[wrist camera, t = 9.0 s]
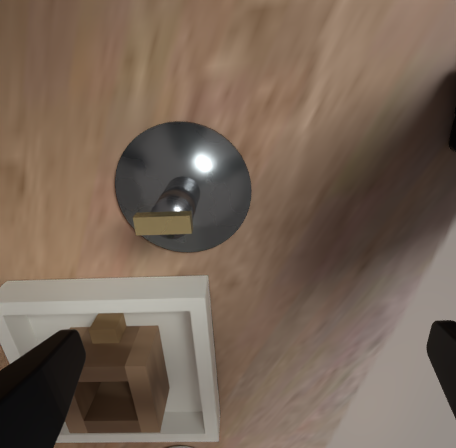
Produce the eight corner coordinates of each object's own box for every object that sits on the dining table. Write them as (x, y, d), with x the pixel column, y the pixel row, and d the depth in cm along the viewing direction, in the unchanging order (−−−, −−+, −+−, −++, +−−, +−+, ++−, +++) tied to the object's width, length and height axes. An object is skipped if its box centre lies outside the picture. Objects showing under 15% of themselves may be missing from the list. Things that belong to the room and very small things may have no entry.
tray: (208, 275, 21) (205, 297, 19) (220, 412, 27) (218, 441, 25) (7, 280, 22) (-19, 303, 20) (61, 414, 28) (46, 442, 25)
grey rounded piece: (249, 117, 17) (254, 130, 12) (252, 247, 20) (256, 295, 16) (104, 124, 17) (58, 140, 13) (130, 251, 21) (100, 298, 16)
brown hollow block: (169, 387, 25) (159, 432, 22) (90, 389, 25) (69, 433, 22) (155, 311, 22) (142, 351, 19) (66, 314, 22) (37, 353, 19)
